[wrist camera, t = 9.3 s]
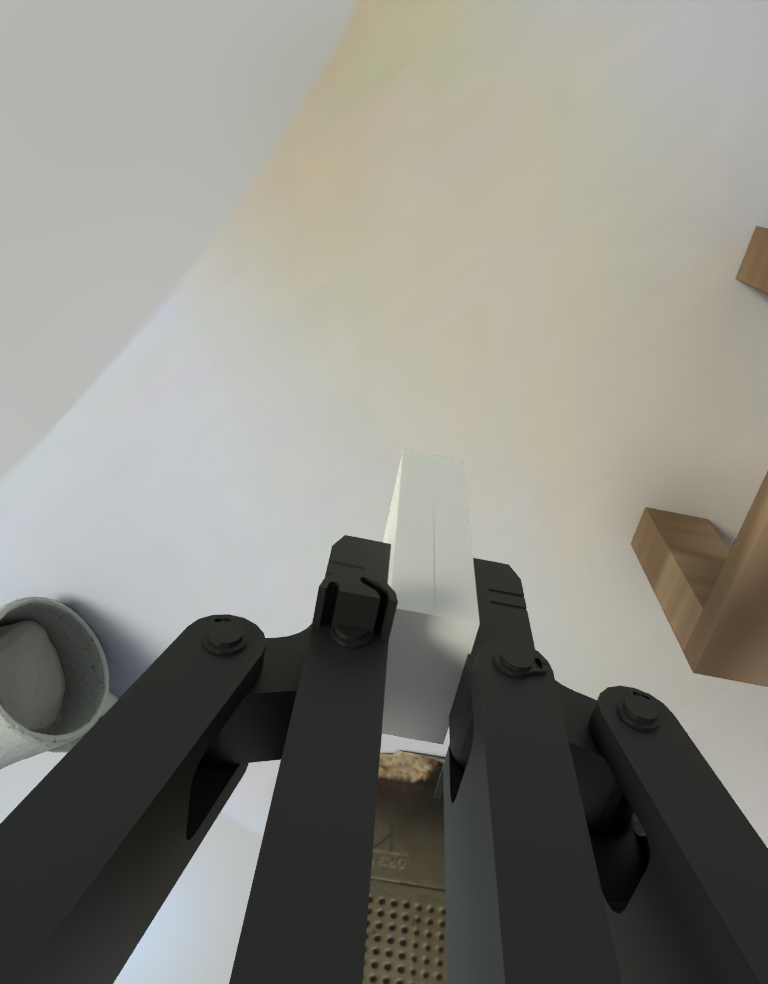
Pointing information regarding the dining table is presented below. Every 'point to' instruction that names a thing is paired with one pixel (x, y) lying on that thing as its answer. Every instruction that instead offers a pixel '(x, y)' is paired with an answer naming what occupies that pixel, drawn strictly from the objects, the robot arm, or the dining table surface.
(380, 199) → the dining table surface
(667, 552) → the bridge
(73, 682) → the ceramic mug
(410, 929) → the radio
